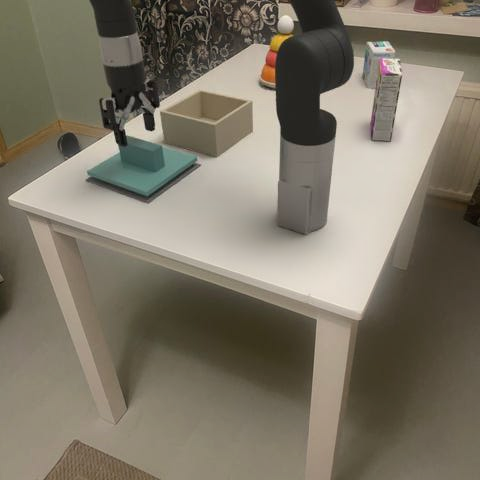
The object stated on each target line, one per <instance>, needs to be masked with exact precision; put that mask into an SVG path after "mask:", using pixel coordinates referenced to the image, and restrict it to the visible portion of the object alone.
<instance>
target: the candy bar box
mask: <svg viewBox="0 0 480 480" xmlns="http://www.w3.org/2000/svg"><path fill="white" fill-rule="evenodd" d="M402 78H403V70H402V64H401V59H400V58H395V57H394V58H393V59H392V58H387V59H386V58H380V59H379V65H378V72H377V79H376V87H375V88H374V89H375V90H374V96H373V102H372V109H371V117H370V118H371V119H370V136H371V137H370V138H371V141H373V142H388V143H389V142H392V137H393V130H394V125H395V121H396V113H397V107H398V102H399V97H400V89H401V84H402Z"/></svg>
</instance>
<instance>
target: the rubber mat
mask: <svg viewBox="0 0 480 480" xmlns="http://www.w3.org/2000/svg"><path fill="white" fill-rule="evenodd" d="M201 166H202V163H198V162H195V163H194V164H192V165H191V166H189V167H188V168H187V169H185V170H184V171H182V172H181V173H180V174H178V175H177V176H175V177H174V178H172V179H171V180H170V181H168V182H167V183H165V184H164V185H163V186H161V187H160V188H158V189H157V190H156V191H154V192H153V193H151V194H150V195H148V196H145V195H142V194H140V193H137V192H134V191H131V190H128V189H125V188H123V187H120V186H117V185H114V184H111V183H108V182H106V181H103V180H100V179H97V178H94V177H91V176H89V177H87V178H86V179H85V181H86V182H89V183H91V184H94V185H97V186H100V187H103V188H105V189H106V190H110V191H112V192H117V193H119V194H121V195H124V196H127V197H129V198H132V199H135V200H138V201H140V202H144V203H146V204H150V203H152V201H154V200H155V199H156V198H158V197H159V196H161V195H162V194H163V193H165V192H166V191H168V190H169V189H171V188H172V187H173V186H175V185H176V184H177V183H179V182H180V181H182V180H183V179H184V178H186V177H187V176H188V175H190V174H191V173H193V172H194V171H195V170H197V169H198V168H200V167H201Z"/></svg>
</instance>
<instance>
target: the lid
mask: <svg viewBox="0 0 480 480" xmlns="http://www.w3.org/2000/svg"><path fill="white" fill-rule="evenodd" d="M126 138H127V143H128V145H127V146H126V147H122V146H119V145H118V144H117V146H118V150H119V151H118V152H117V153H115V154H113V155H112V156H111V157H109V158H107V159H105V160H104V161H102V162H100V163H98V164H97V165H95V166H93V167H92V168H90V169H88V170H87V171H86V172H87V176H89V177H94V178H97V179H100V180H103V181H106V182H108V183H111V184H114V185H117V186H120V187H123V188H125V189H128V190H131V191H134V192H137V193H140V194H142V195H145V196H148V195H150V194H151V193H153V192H154V191H156V190H157V189H158V188H160V187H161V186H163V185H164V184H165V183H167V182H168V181H170V180H171V179H172V178H174V177H175V176H177V175H178V174H180V173H181V172H182V171H184V170H185V169H187V168H188V167H189V166H191V165H192V164H194V163H197V162H198V161H199V160H198V156H196V155H194V154H193V155H192V154H190V153H186V152H183V151H179V150H176V149H172V148H168V147H165V146H163V145H162V144H158V143H155V142H152V141H147V140H144V139H142V138H137V137H135V136H132V135H131V136H130V135H128V134H126Z"/></svg>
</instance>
